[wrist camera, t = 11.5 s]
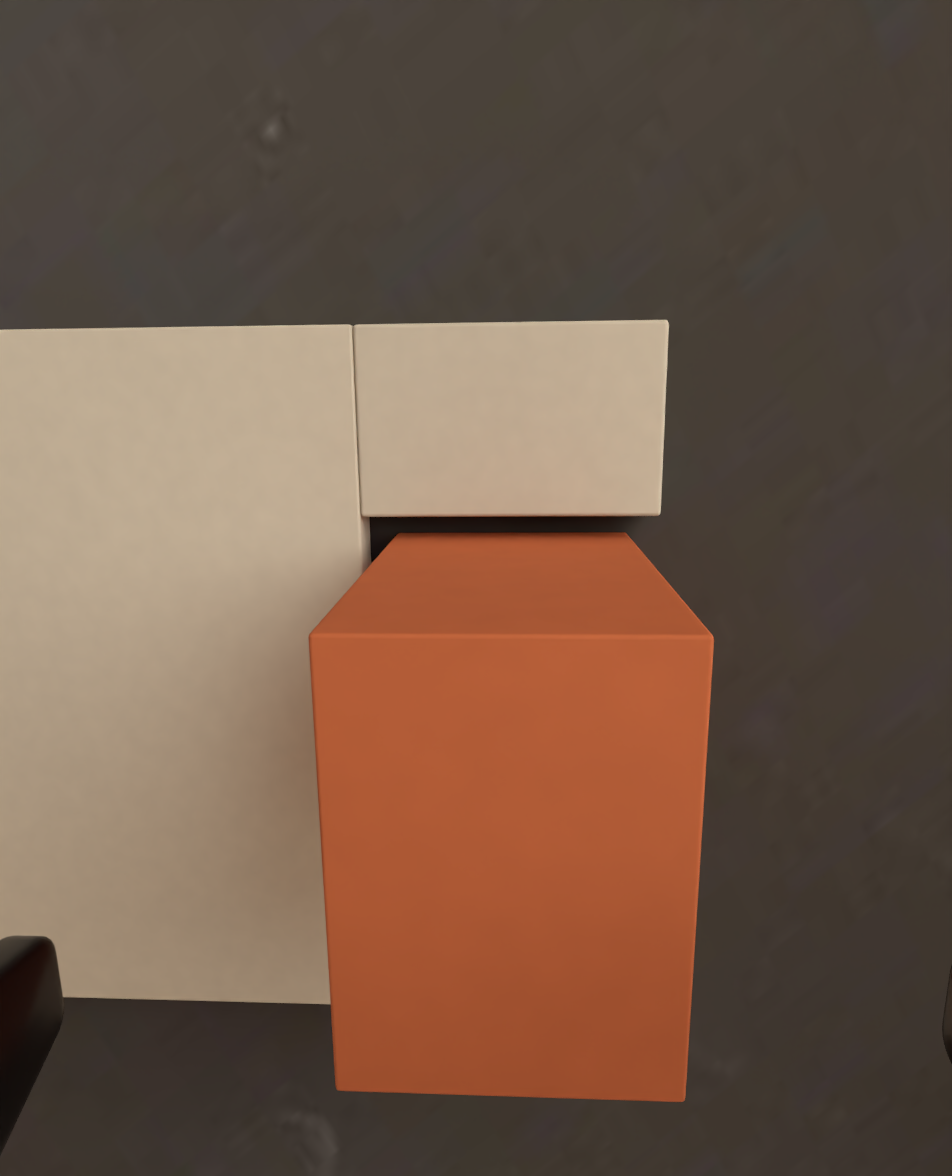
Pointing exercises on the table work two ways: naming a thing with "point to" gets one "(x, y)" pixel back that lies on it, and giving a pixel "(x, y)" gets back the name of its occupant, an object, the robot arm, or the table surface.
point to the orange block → (511, 817)
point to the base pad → (243, 601)
